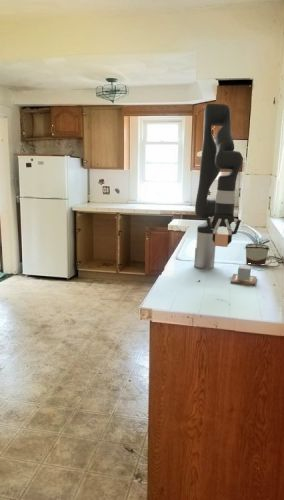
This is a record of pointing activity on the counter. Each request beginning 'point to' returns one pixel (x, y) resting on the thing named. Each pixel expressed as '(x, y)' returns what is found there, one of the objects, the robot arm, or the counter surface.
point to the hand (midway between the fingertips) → (221, 242)
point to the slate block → (244, 272)
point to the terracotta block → (221, 239)
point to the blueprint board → (243, 282)
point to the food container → (256, 253)
